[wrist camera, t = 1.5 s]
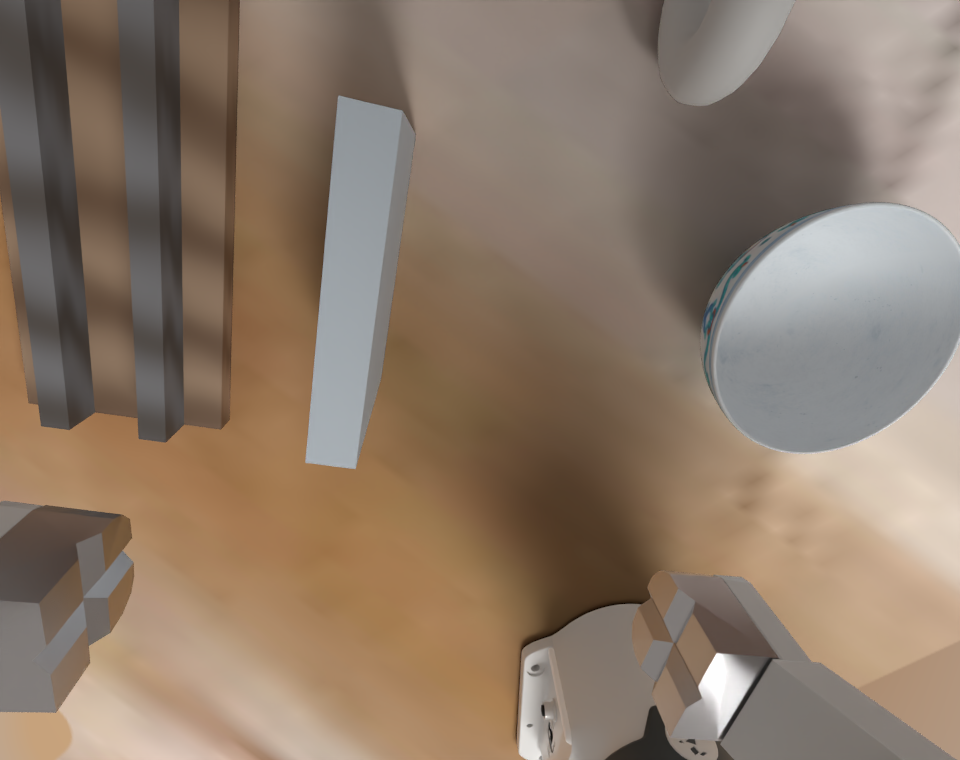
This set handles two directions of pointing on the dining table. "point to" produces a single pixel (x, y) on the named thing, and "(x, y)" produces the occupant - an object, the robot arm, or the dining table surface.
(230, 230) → the track base
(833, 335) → the chinaware
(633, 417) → the dining table surface
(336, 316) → the door panel
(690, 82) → the donut
